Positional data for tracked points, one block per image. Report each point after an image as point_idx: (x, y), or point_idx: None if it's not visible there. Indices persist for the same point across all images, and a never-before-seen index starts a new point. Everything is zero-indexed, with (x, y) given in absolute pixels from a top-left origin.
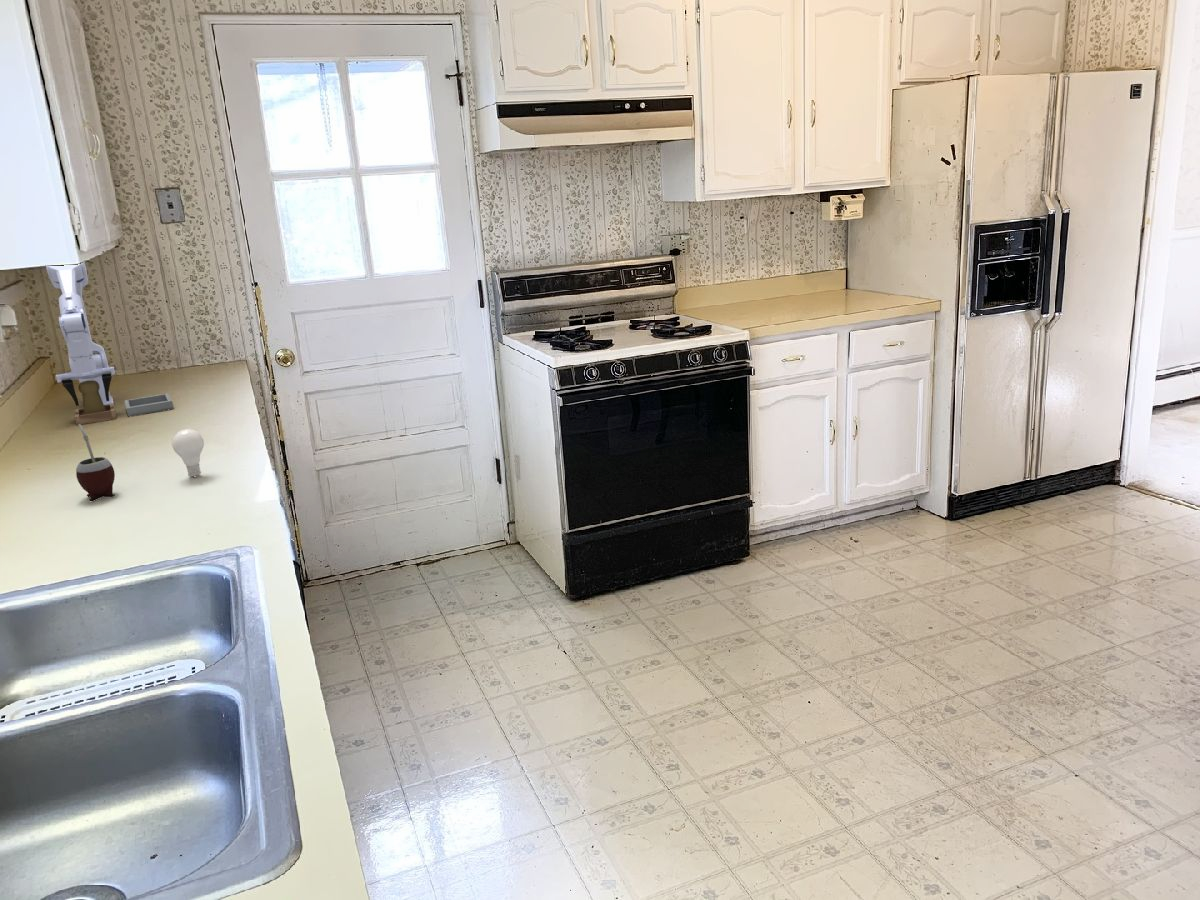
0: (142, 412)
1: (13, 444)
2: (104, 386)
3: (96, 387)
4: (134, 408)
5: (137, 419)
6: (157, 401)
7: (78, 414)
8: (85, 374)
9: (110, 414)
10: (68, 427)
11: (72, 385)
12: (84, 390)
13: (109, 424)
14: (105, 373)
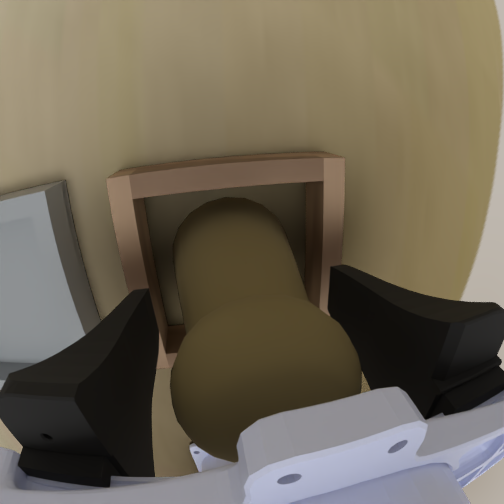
0: (3, 196)
1: (496, 34)
2: (109, 345)
3: (188, 345)
4: (14, 196)
5: (23, 92)
6: (7, 363)
7: (325, 213)
8: (347, 425)
9: (139, 171)
10: (359, 142)
11: (440, 320)
12: (310, 307)
13: (152, 53)
14: (72, 489)
